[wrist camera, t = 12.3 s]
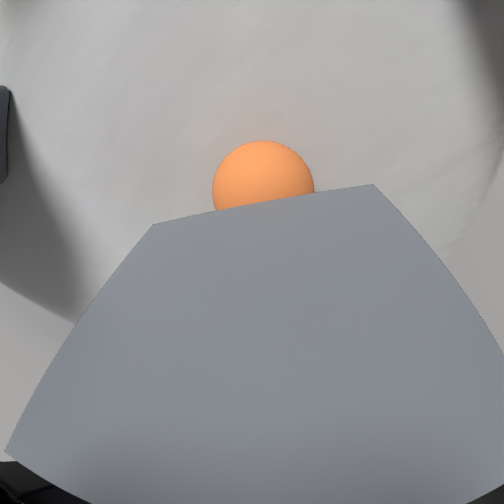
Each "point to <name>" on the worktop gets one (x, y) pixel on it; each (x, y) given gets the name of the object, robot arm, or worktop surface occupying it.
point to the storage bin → (3, 130)
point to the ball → (260, 175)
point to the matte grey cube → (274, 367)
